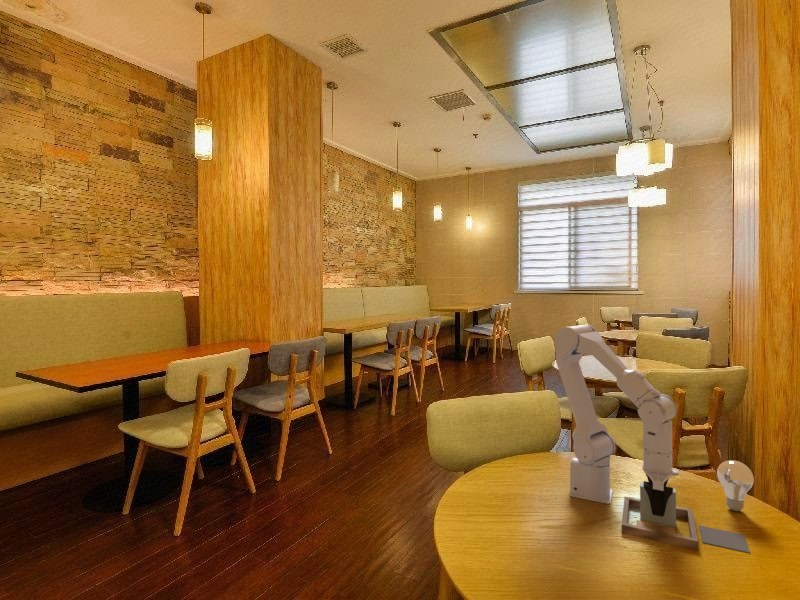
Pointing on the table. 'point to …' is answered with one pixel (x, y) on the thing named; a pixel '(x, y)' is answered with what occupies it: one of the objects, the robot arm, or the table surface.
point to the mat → (724, 539)
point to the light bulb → (735, 482)
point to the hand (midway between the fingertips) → (657, 507)
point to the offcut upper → (656, 526)
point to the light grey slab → (646, 510)
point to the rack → (656, 534)
